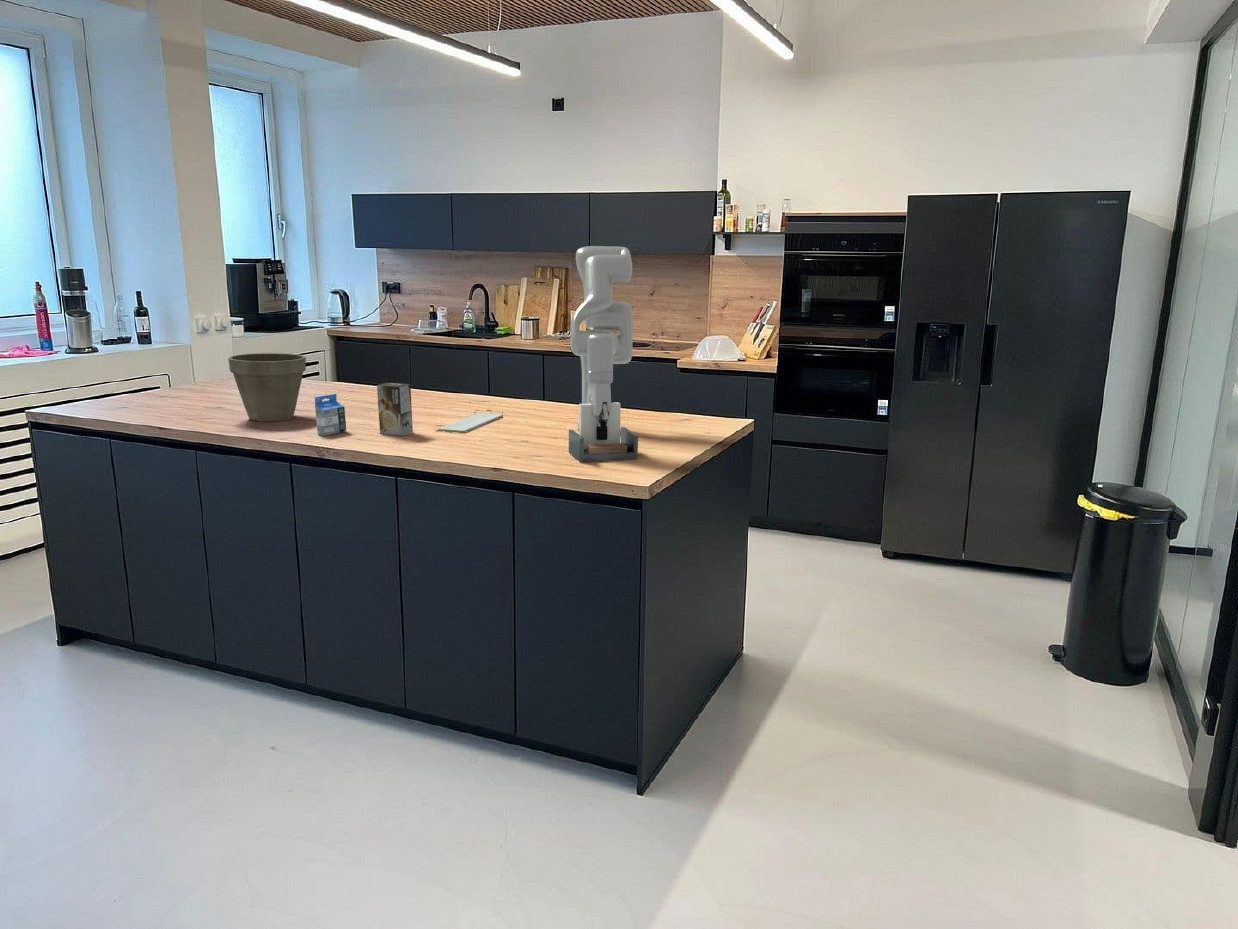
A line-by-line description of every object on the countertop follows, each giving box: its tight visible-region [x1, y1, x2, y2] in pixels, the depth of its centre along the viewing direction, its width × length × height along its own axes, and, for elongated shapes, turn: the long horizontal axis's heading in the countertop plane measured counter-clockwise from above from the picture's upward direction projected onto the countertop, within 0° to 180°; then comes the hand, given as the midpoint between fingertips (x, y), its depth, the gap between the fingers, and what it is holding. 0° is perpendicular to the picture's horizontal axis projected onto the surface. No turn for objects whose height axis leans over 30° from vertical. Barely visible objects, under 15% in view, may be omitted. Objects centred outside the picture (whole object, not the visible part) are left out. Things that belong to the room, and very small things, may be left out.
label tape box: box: [314, 393, 347, 437], centre depth 280 cm, size 9×4×12 cm, turn 149°
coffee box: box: [376, 382, 414, 437], centre depth 280 cm, size 9×6×16 cm
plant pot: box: [227, 352, 307, 423], centre depth 302 cm, size 25×25×22 cm
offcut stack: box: [584, 442, 627, 455], centre depth 252 cm, size 4×13×4 cm, turn 107°
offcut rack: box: [568, 426, 639, 463], centre depth 254 cm, size 13×17×7 cm
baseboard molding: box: [434, 409, 504, 434], centre depth 300 cm, size 31×3×12 cm
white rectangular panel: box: [578, 402, 621, 449], centre depth 256 cm, size 2×12×15 cm, turn 107°
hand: (599, 437), depth 257 cm, fingers open, 4 cm apart
